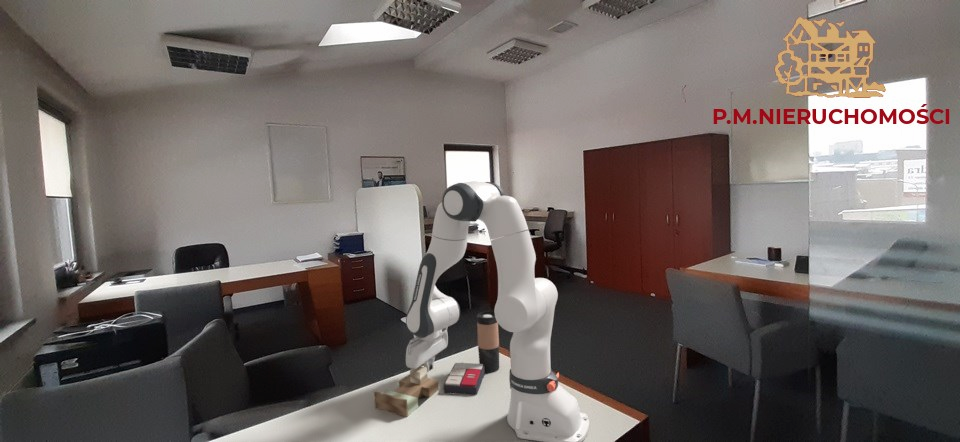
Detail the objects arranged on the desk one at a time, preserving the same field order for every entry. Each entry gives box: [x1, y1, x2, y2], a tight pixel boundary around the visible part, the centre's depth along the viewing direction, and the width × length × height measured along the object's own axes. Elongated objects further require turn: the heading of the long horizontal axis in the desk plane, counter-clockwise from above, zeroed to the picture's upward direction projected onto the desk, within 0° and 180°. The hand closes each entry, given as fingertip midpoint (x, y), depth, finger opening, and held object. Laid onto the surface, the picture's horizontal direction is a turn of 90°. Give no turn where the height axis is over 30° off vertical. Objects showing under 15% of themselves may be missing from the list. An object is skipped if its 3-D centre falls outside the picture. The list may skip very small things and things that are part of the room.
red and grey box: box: [443, 362, 486, 396], centre depth 132 cm, size 11×4×15 cm
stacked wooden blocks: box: [373, 373, 440, 418], centre depth 124 cm, size 12×17×5 cm
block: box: [409, 365, 429, 385], centre depth 129 cm, size 4×4×4 cm
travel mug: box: [476, 311, 500, 374], centre depth 142 cm, size 8×8×20 cm
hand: (428, 370), depth 134 cm, fingers closed
